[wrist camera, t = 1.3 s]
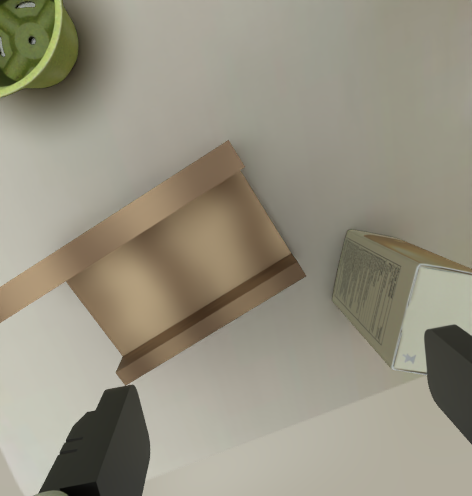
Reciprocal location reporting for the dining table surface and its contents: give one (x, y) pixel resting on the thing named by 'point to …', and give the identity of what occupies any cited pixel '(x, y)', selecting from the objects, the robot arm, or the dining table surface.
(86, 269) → the wooden holder
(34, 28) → the plant pot
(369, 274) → the skincare box
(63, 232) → the dining table surface
